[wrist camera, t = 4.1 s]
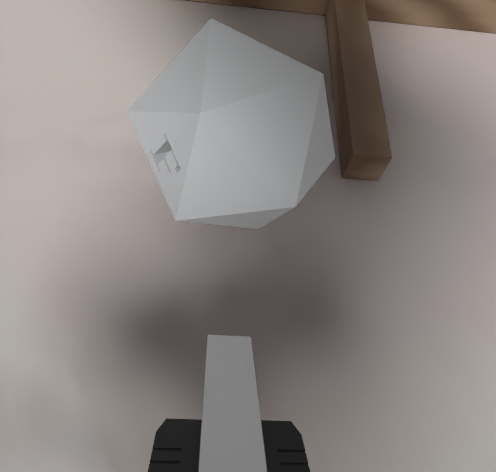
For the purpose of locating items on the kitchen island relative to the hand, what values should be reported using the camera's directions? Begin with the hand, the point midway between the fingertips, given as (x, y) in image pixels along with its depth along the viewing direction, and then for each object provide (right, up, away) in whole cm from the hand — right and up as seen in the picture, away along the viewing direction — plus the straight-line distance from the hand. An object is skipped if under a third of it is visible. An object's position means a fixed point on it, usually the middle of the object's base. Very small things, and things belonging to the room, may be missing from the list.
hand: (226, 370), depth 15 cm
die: (0, +7, +8) cm, 11 cm away
